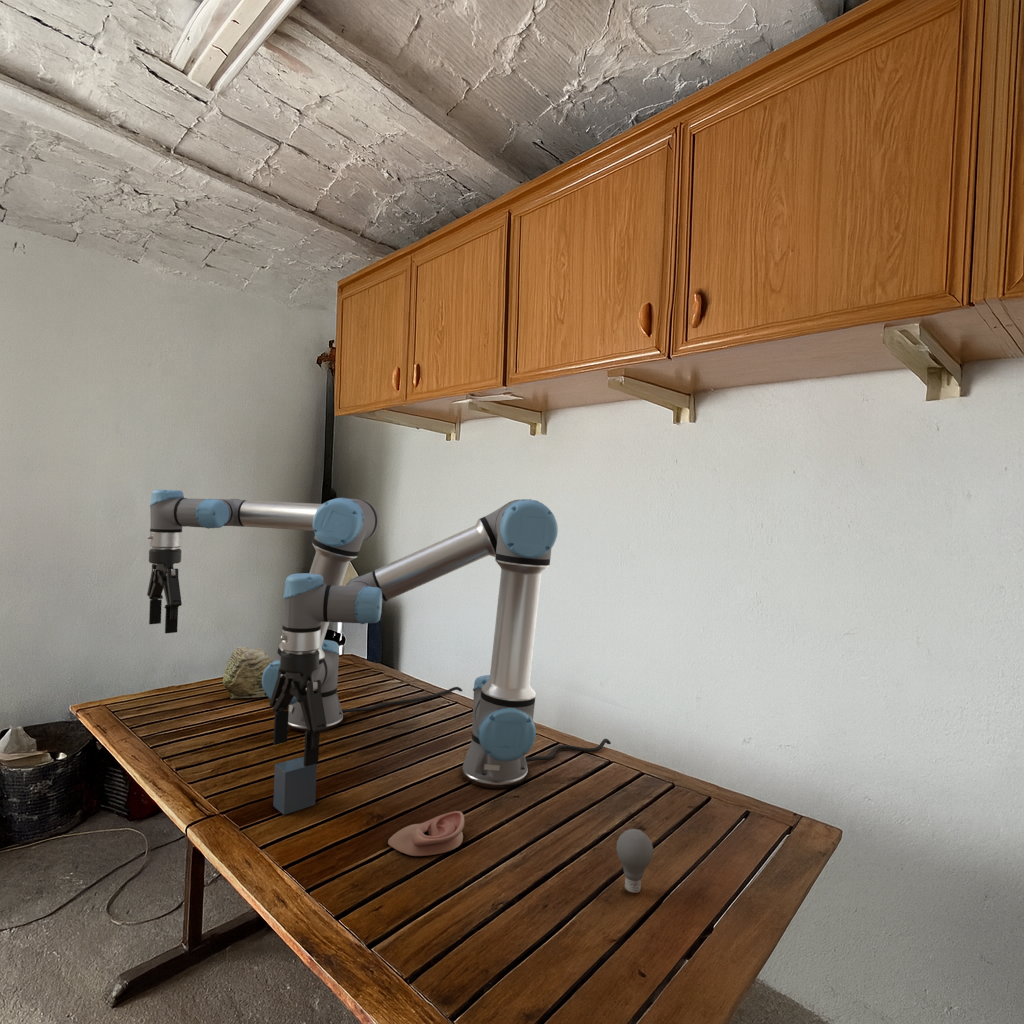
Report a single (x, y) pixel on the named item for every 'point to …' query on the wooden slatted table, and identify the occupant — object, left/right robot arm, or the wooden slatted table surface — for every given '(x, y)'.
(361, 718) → the wooden slatted table surface
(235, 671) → the fossil
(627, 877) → the light bulb
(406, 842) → the anatomical model
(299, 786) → the brick
